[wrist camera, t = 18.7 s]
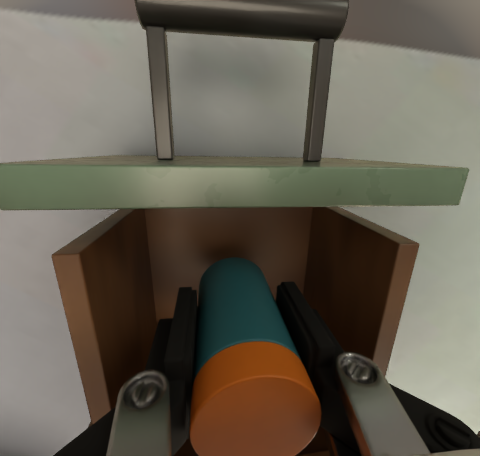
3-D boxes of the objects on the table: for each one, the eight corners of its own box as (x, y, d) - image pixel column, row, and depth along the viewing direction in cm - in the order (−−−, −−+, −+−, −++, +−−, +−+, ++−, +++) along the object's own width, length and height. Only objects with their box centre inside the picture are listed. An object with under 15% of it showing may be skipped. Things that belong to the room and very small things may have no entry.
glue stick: (267, 255, 13) (330, 369, 6) (264, 313, 14) (314, 463, 7) (197, 258, 12) (185, 384, 6) (200, 317, 13) (192, 481, 7)
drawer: (100, 41, 13) (-114, -172, 4) (347, 56, 14) (543, -76, 6) (142, 351, 19) (88, 512, 11) (310, 338, 20) (380, 470, 12)
